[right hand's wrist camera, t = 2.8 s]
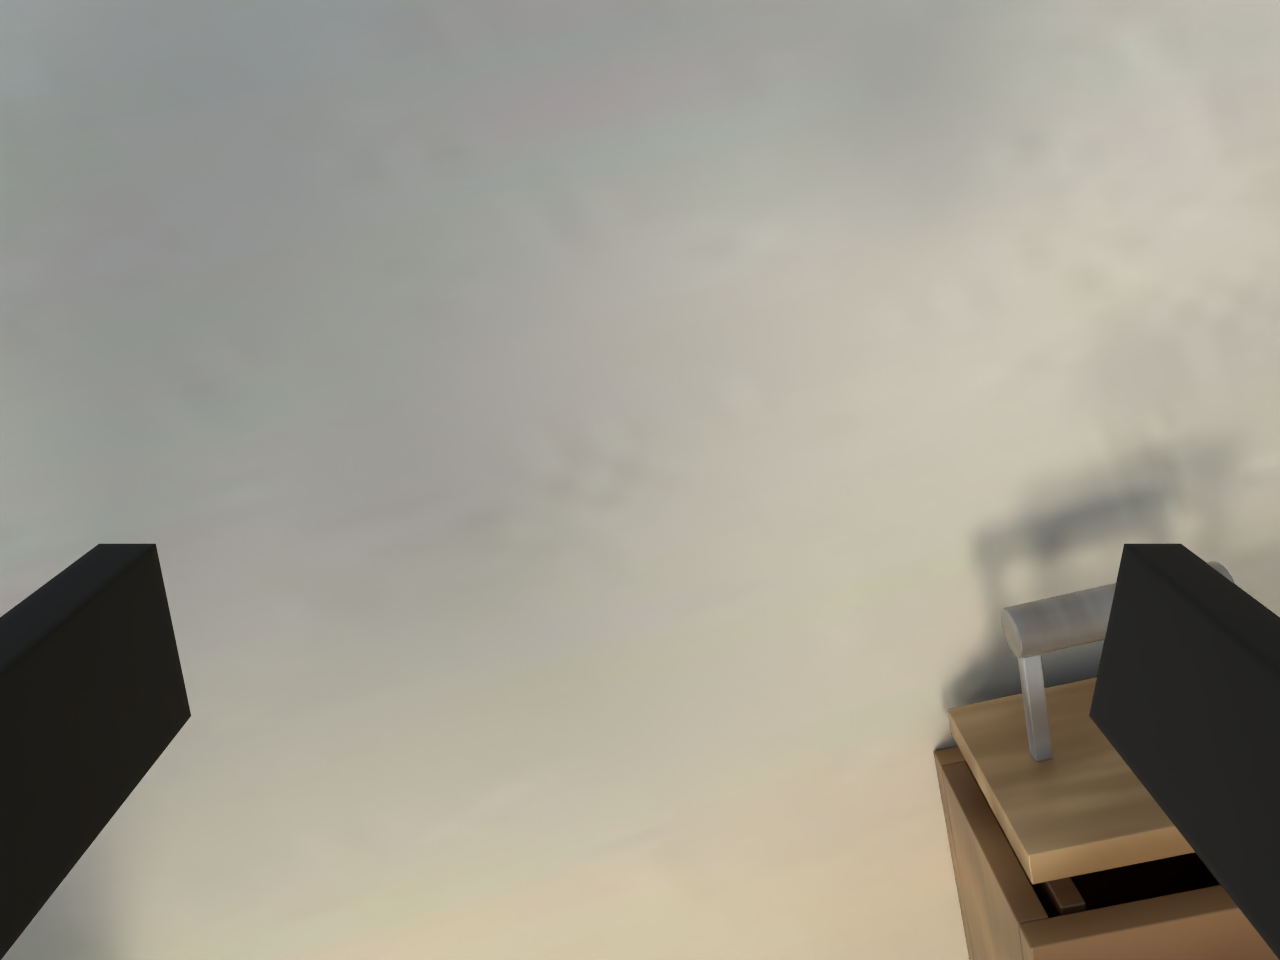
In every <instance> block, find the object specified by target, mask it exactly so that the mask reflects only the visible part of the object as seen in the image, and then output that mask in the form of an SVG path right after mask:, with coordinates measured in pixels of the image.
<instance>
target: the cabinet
mask: <svg viewBox="0 0 1280 960" xmlns="http://www.w3.org/2000/svg"><path fill="white" fill-rule="evenodd" d="M934 757H935V763H936V768H937V774H938V780H939V786H940V791H941V797H942V803H943V809H944V814H945V820H946V826H947V832H948V838H949V843H950V849H951V855H952V861H953V866H954V872H955V878H956V884H957V889H958V895H959V901H960V907H961V913H962V918H963V924H964V930H965V936H966V941H967V947H968V953H969V959H970V960H1279V959H1278V958H1277V956H1276V955H1275V954H1274V952H1273V951H1272V950H1271V949H1270V947H1269V946H1268V945H1267V944H1266V942H1265V941H1264V940H1263V938H1262V937H1261V936H1260V935H1259V933H1258V932H1257V931H1256V929H1255V928H1254V927H1253V926H1252V924H1251V923H1250V922H1249V920H1248V919H1247V918H1246V917H1245V915H1244V914H1243V913H1242V911H1241V910H1240V909H1239V908H1238V906H1237V905H1236V904H1235V902H1234V901H1233V900H1232V899H1231V897H1230V896H1229V895H1228V893H1227V892H1226V891H1225V890H1224V888H1223V887H1222V886H1221V885H1217V886H1211V887H1206V888H1201V889H1196V890H1191V891H1186V892H1181V893H1175V894H1170V895H1165V896H1160V897H1155V898H1150V899H1145V900H1139V901H1134V902H1129V903H1124V904H1119V905H1114V906H1109V907H1104V908H1098V909H1093V910H1088V911H1083V912H1078V913H1073V914H1068V915H1062V916H1057V917H1052V918H1048V915H1047V913H1046V911H1045V910H1044V908H1043V906H1042V904H1041V902H1040V900H1039V898H1038V896H1037V895H1036V893H1035V891H1034V889H1033V887H1032V885H1031V883H1030V881H1029V880H1028V878H1027V876H1026V874H1025V872H1024V870H1023V868H1022V866H1021V865H1020V863H1019V861H1018V859H1017V857H1016V855H1015V853H1014V852H1013V850H1012V848H1011V846H1010V844H1009V842H1008V840H1007V838H1006V837H1005V835H1004V833H1003V831H1002V829H1001V827H1000V825H999V823H998V822H997V820H996V818H995V816H994V814H993V812H992V810H991V809H990V807H989V805H988V801H987V799H986V797H985V795H984V794H983V792H982V790H981V788H980V786H979V784H978V782H977V781H976V779H975V777H974V775H973V773H972V771H971V769H970V767H969V766H968V764H967V762H966V760H965V758H964V756H963V754H962V753H961V751H960V749H959V747H958V746H955V747H951V748H946V749H941V750H936V751H934Z"/></svg>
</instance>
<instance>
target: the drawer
mask: <svg viewBox="0 0 1280 960" xmlns="http://www.w3.org/2000/svg"><path fill="white" fill-rule="evenodd" d="M1207 564H1209V565H1210V566H1211V567H1213V568H1214V569H1215V570H1217V571H1218V572H1219V573H1221V574H1222V575H1223V576H1225V577H1226V578H1227V579H1229V580H1230V581H1231V582H1233V583H1234V581H1233V579H1232V577H1231V575H1230V574H1229V572H1228V571H1227V570H1226V568H1225V567H1224V566H1223V565H1221V564H1220V563H1218V562H1208V563H1207ZM1115 587H1116V583H1114V584H1110V585H1105V586H1101V587H1096V588H1092V589H1087V590H1083V591H1078V592H1074V593H1069V594H1065V595H1060V596H1056V597H1051V598H1047V599H1042V600H1038V601H1033V602H1029V603H1024V604H1020V605H1015V606H1011V607H1007V608H1004V609H1003V610H1002V612H1001V620H1002V626H1003V631H1004V634H1005V637H1006V640H1007V642H1008V645H1009V647H1010V649H1011V651H1012V652H1013V654H1014V655H1015V656H1016V657H1018V664H1019V672H1020V680H1021V688H1022V693H1021V694H1016V695H1011V696H1007V697H1002V698H997V699H993V700H988V701H984V702H979V703H974V704H970V705H965V706H960V707H956V708H951V709H948V716H949V722H950V728H951V734H952V736H953V738H954V740H955V741H956V743H957V745H958V747H959V749H960V751H961V753H962V754H963V756H964V758H965V760H966V762H967V764H968V766H969V767H970V769H971V771H972V773H973V775H974V777H975V779H976V781H977V782H978V784H979V786H980V788H981V790H982V792H983V794H984V795H985V797H986V799H987V801H988V805H989V807H990V809H991V810H992V812H993V814H994V816H995V818H996V820H997V822H998V823H999V825H1000V827H1001V829H1002V831H1003V833H1004V835H1005V837H1006V838H1007V840H1008V842H1009V844H1010V846H1011V848H1012V850H1013V852H1014V853H1015V855H1016V857H1017V859H1018V861H1019V863H1020V865H1021V866H1022V868H1023V870H1024V872H1025V874H1026V876H1027V878H1028V880H1029V881H1030V883H1031V885H1032V887H1033V889H1034V891H1035V893H1036V895H1037V896H1038V898H1039V900H1040V902H1041V904H1042V906H1043V908H1044V910H1045V911H1046V913H1047V915H1048V918H1052V917H1057V916H1062V915H1068V914H1073V913H1078V912H1083V911H1088V910H1093V909H1098V908H1104V907H1109V906H1114V905H1119V904H1124V903H1129V902H1134V901H1139V900H1145V899H1150V898H1155V897H1160V896H1165V895H1170V894H1175V893H1181V892H1186V891H1191V890H1196V889H1201V888H1206V887H1211V886H1217V885H1221V884H1220V883H1219V882H1218V881H1217V879H1216V878H1215V877H1214V876H1213V874H1212V873H1211V872H1210V870H1209V869H1208V868H1207V867H1206V865H1205V864H1204V863H1203V861H1202V860H1201V859H1200V858H1199V856H1198V855H1197V854H1196V852H1195V851H1194V850H1193V849H1192V847H1191V846H1190V845H1189V843H1188V842H1187V841H1186V840H1185V838H1184V837H1183V836H1182V834H1181V833H1180V832H1179V831H1178V829H1177V828H1176V827H1175V825H1174V824H1173V823H1172V822H1171V820H1170V819H1169V818H1168V817H1167V815H1166V814H1165V813H1164V811H1163V810H1162V809H1161V808H1160V806H1159V805H1158V804H1157V802H1156V801H1155V800H1154V799H1153V797H1152V796H1151V795H1150V793H1149V792H1148V791H1147V790H1146V788H1145V787H1144V786H1143V784H1142V783H1141V782H1140V781H1139V779H1138V778H1137V777H1136V775H1135V774H1134V773H1133V772H1132V770H1131V769H1130V768H1129V766H1128V765H1127V764H1126V763H1125V761H1124V760H1123V759H1122V757H1121V756H1120V755H1119V754H1118V752H1117V751H1116V750H1115V749H1114V747H1113V746H1112V745H1111V743H1110V742H1109V741H1108V740H1107V738H1106V737H1105V736H1104V734H1103V733H1102V732H1101V731H1100V729H1099V728H1098V727H1097V725H1096V724H1095V723H1094V722H1093V720H1092V719H1091V718H1090V716H1089V713H1090V709H1091V704H1092V699H1093V694H1094V689H1095V684H1096V679H1097V677H1095V678H1090V679H1086V680H1081V681H1076V682H1072V683H1067V684H1063V685H1058V686H1053V687H1049V688H1045V686H1044V677H1043V669H1042V660H1041V653H1045V652H1050V651H1055V650H1059V649H1064V648H1068V647H1073V646H1077V645H1082V644H1087V643H1091V642H1096V641H1100V640H1105V636H1106V631H1107V626H1108V621H1109V616H1110V611H1111V606H1112V602H1113V597H1114V592H1115Z"/></svg>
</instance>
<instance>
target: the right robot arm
mask: <svg viewBox="0 0 1280 960" xmlns="http://www.w3.org/2000/svg"><path fill="white" fill-rule="evenodd" d="M190 716H191V713H190V709H189V704H188V699H187V694H186V689H185V684H184V679H183V675H182V670H181V665H180V660H179V655H178V650H177V645H176V640H175V636H174V631H173V626H172V621H171V616H170V611H169V606H168V602H167V597H166V592H165V587H164V582H163V577H162V572H161V568H160V563H159V558H158V553H157V548H156V544H98V545H97V546H96V547H94V548H93V549H92V550H90V551H89V552H88V553H86V554H85V555H84V556H82V557H81V558H79V559H78V560H77V561H75V562H74V563H73V564H71V565H70V566H69V567H67V568H66V569H65V570H63V571H62V572H61V573H59V574H58V575H57V576H55V577H54V578H53V579H51V580H50V581H49V582H47V583H46V584H45V585H43V586H42V587H41V588H39V589H38V590H37V591H35V592H34V593H33V594H31V595H30V596H29V597H27V598H26V599H25V600H23V601H22V602H21V603H19V604H18V605H17V606H15V607H14V608H13V609H11V610H10V611H9V612H7V613H6V614H5V615H3V616H2V617H1V618H0V960H1V959H2V958H3V956H4V955H5V954H6V952H7V951H8V950H9V949H10V947H11V946H12V945H13V944H14V942H15V941H16V940H17V938H18V937H19V936H20V935H21V933H22V932H23V931H24V929H25V928H26V927H27V926H28V924H29V923H30V922H31V920H32V919H33V918H34V917H35V915H36V914H37V913H38V911H39V910H40V909H41V908H42V906H43V905H44V904H45V902H46V901H47V900H48V899H49V897H50V896H51V895H52V893H53V892H54V891H55V890H56V888H57V887H58V886H59V884H60V883H61V882H62V881H63V879H64V878H65V877H66V876H67V874H68V873H69V872H70V870H71V869H72V868H73V867H74V865H75V864H76V863H77V861H78V860H79V859H80V858H81V856H82V855H83V854H84V852H85V851H86V850H87V849H88V847H89V846H90V845H91V843H92V842H93V841H94V840H95V838H96V837H97V836H98V834H99V833H100V832H101V831H102V829H103V828H104V827H105V825H106V824H107V823H108V822H109V820H110V819H111V818H112V817H113V815H114V814H115V813H116V811H117V810H118V809H119V808H120V806H121V805H122V804H123V802H124V801H125V800H126V799H127V797H128V796H129V795H130V793H131V792H132V791H133V790H134V788H135V787H136V786H137V784H138V783H139V782H140V781H141V779H142V778H143V777H144V775H145V774H146V773H147V772H148V770H149V769H150V768H151V766H152V765H153V764H154V763H155V761H156V760H157V759H158V757H159V756H160V755H161V754H162V752H163V751H164V750H165V749H166V747H167V746H168V745H169V743H170V742H171V741H172V740H173V738H174V737H175V736H176V734H177V733H178V732H179V731H180V729H181V728H182V727H183V725H184V724H185V723H186V722H187V720H188V719H189V718H190ZM1089 716H1090V718H1091V719H1092V720H1093V722H1094V723H1095V724H1096V725H1097V727H1098V728H1099V729H1100V731H1101V732H1102V733H1103V734H1104V736H1105V737H1106V738H1107V740H1108V741H1109V742H1110V743H1111V745H1112V746H1113V747H1114V749H1115V750H1116V751H1117V752H1118V754H1119V755H1120V756H1121V757H1122V759H1123V760H1124V761H1125V763H1126V764H1127V765H1128V766H1129V768H1130V769H1131V770H1132V772H1133V773H1134V774H1135V775H1136V777H1137V778H1138V779H1139V781H1140V782H1141V783H1142V784H1143V786H1144V787H1145V788H1146V790H1147V791H1148V792H1149V793H1150V795H1151V796H1152V797H1153V799H1154V800H1155V801H1156V802H1157V804H1158V805H1159V806H1160V808H1161V809H1162V810H1163V811H1164V813H1165V814H1166V815H1167V817H1168V818H1169V819H1170V820H1171V822H1172V823H1173V824H1174V825H1175V827H1176V828H1177V829H1178V831H1179V832H1180V833H1181V834H1182V836H1183V837H1184V838H1185V840H1186V841H1187V842H1188V843H1189V845H1190V846H1191V847H1192V849H1193V850H1194V851H1195V852H1196V854H1197V855H1198V856H1199V858H1200V859H1201V860H1202V861H1203V863H1204V864H1205V865H1206V867H1207V868H1208V869H1209V870H1210V872H1211V873H1212V874H1213V876H1214V877H1215V878H1216V879H1217V881H1218V882H1219V883H1220V884H1221V886H1222V887H1223V888H1224V890H1225V891H1226V892H1227V893H1228V895H1229V896H1230V897H1231V899H1232V900H1233V901H1234V902H1235V904H1236V905H1237V906H1238V908H1239V909H1240V910H1241V911H1242V913H1243V914H1244V915H1245V917H1246V918H1247V919H1248V920H1249V922H1250V923H1251V924H1252V926H1253V927H1254V928H1255V929H1256V931H1257V932H1258V933H1259V935H1260V936H1261V937H1262V938H1263V940H1264V941H1265V942H1266V944H1267V945H1268V946H1269V947H1270V949H1271V950H1272V951H1273V952H1274V954H1275V955H1276V956H1277V958H1278V959H1279V960H1280V618H1279V617H1278V616H1277V615H1275V614H1274V613H1273V612H1271V611H1270V610H1269V609H1267V608H1266V607H1265V606H1263V605H1262V604H1261V603H1259V602H1258V601H1257V600H1255V599H1254V598H1253V597H1251V596H1250V595H1249V594H1247V593H1246V592H1245V591H1243V590H1242V589H1241V588H1239V587H1238V586H1237V585H1235V584H1234V583H1233V582H1231V581H1230V580H1229V579H1227V578H1226V577H1225V576H1223V575H1222V574H1221V573H1219V572H1218V571H1217V570H1215V569H1214V568H1213V567H1211V566H1210V565H1209V564H1207V563H1206V562H1205V561H1203V560H1202V559H1201V558H1199V557H1198V556H1196V555H1195V554H1194V553H1192V552H1191V551H1190V550H1188V549H1187V548H1186V547H1184V546H1183V545H1182V544H1124V548H1123V553H1122V558H1121V563H1120V568H1119V572H1118V577H1117V582H1116V587H1115V592H1114V597H1113V602H1112V606H1111V611H1110V616H1109V621H1108V626H1107V631H1106V636H1105V640H1104V645H1103V650H1102V655H1101V660H1100V665H1099V670H1098V675H1097V679H1096V684H1095V689H1094V694H1093V699H1092V704H1091V709H1090V713H1089Z"/></svg>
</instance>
